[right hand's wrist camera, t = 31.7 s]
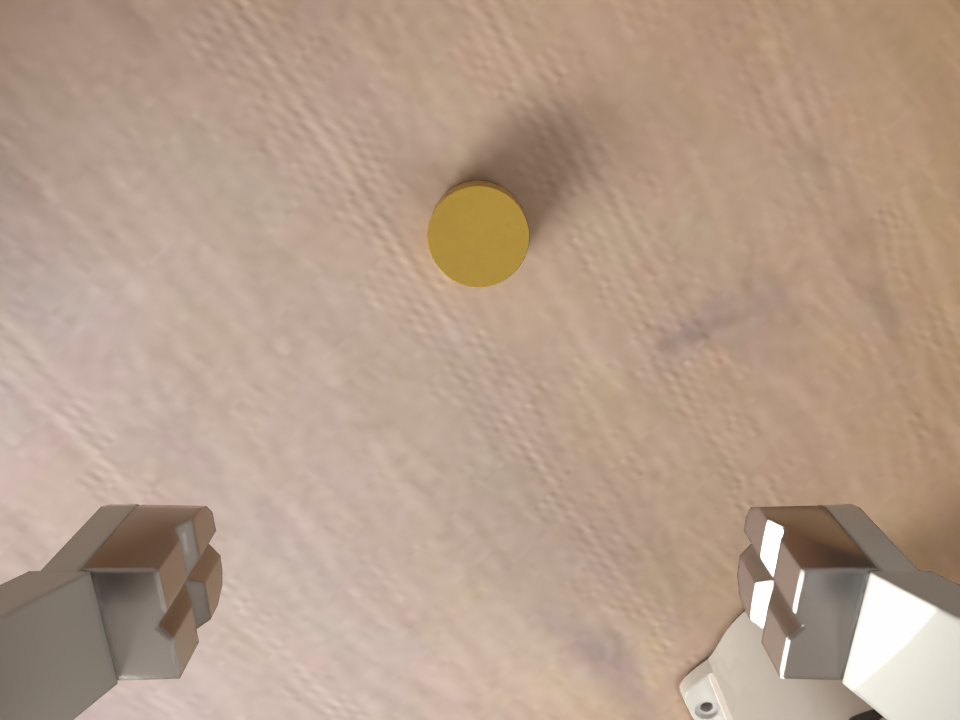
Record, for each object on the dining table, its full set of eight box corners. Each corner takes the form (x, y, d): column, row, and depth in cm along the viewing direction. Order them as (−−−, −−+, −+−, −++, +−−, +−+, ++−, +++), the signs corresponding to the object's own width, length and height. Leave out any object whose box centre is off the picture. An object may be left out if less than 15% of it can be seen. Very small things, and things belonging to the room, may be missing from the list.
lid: (546, 232, 35) (550, 240, 33) (475, 295, 36) (475, 307, 34) (481, 159, 34) (481, 162, 32) (410, 226, 35) (406, 234, 33)
